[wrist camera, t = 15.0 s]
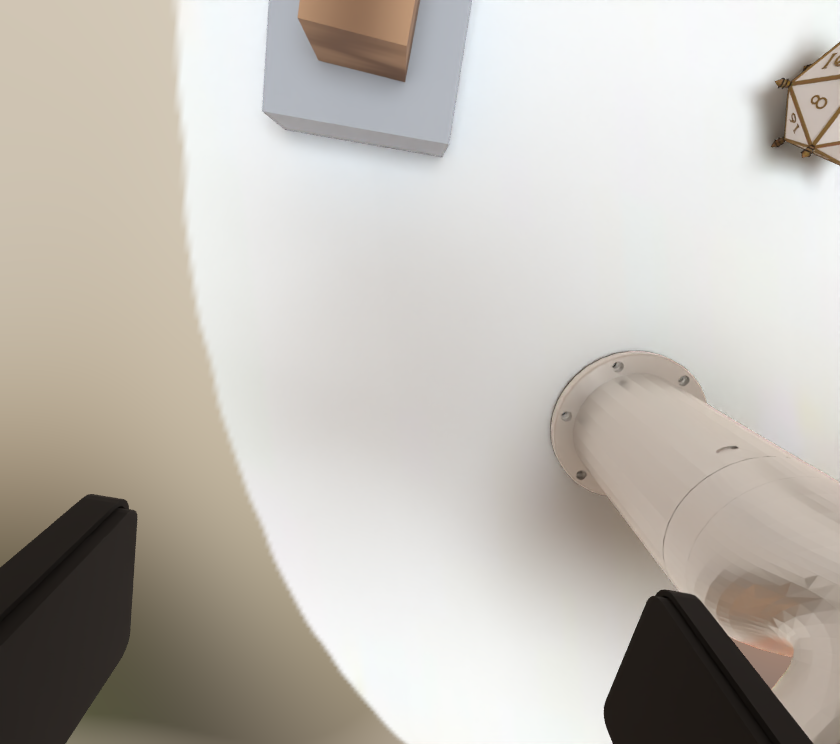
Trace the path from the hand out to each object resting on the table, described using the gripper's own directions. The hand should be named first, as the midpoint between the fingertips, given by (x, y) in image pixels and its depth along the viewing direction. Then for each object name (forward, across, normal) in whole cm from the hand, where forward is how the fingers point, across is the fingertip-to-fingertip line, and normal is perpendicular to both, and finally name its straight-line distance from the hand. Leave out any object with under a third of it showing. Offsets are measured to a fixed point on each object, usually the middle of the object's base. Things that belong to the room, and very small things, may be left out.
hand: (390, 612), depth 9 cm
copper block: (+25, +5, -17) cm, 30 cm away
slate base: (+31, +5, -17) cm, 35 cm away
